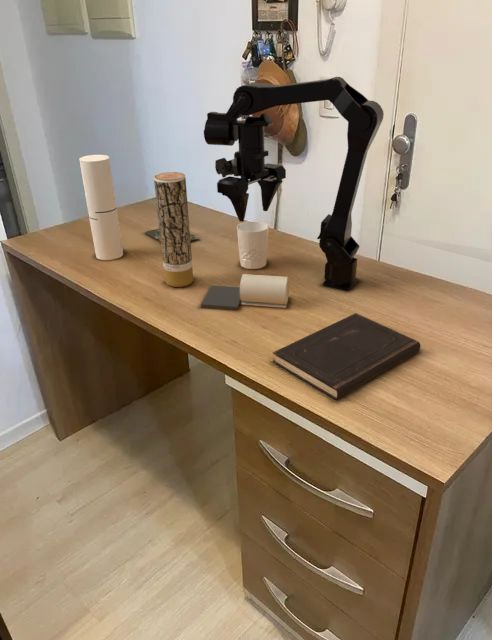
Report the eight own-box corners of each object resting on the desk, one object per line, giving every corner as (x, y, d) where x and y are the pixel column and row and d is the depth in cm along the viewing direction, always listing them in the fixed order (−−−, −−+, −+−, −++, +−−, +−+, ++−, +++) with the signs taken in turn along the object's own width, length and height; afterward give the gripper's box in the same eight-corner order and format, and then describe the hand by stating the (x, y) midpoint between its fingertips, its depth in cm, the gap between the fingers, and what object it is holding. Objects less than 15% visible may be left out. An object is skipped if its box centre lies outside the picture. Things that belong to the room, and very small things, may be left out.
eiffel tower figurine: (143, 233, 162) (137, 187, 155) (173, 226, 168) (169, 181, 160) (168, 248, 152) (163, 199, 145) (200, 240, 157) (196, 192, 150)
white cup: (256, 273, 137) (255, 234, 132) (231, 265, 142) (230, 227, 136) (274, 262, 143) (275, 224, 137) (250, 256, 147) (249, 219, 141)
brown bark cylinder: (188, 289, 130) (179, 180, 117) (161, 287, 131) (149, 179, 118) (197, 277, 136) (189, 172, 122) (170, 275, 137) (159, 171, 123)
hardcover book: (272, 362, 103) (272, 352, 102) (354, 322, 115) (355, 312, 114) (337, 401, 93) (338, 390, 91) (419, 352, 105) (421, 342, 104)
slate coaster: (245, 290, 129) (245, 287, 129) (236, 310, 121) (236, 306, 120) (212, 288, 130) (211, 285, 130) (201, 307, 122) (200, 304, 122)
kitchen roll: (288, 297, 126) (289, 272, 122) (285, 309, 121) (285, 283, 118) (245, 294, 127) (244, 269, 124) (240, 306, 122) (239, 280, 119)
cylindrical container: (119, 260, 146) (105, 161, 132) (92, 260, 146) (75, 161, 132) (125, 249, 152) (112, 154, 138) (99, 250, 152) (83, 154, 138)
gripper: (249, 136, 133) (251, 201, 142) (196, 150, 121) (201, 220, 130) (287, 140, 128) (287, 208, 136) (235, 156, 115) (238, 229, 124)
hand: (253, 216), depth 131 cm, fingers open, 9 cm apart
